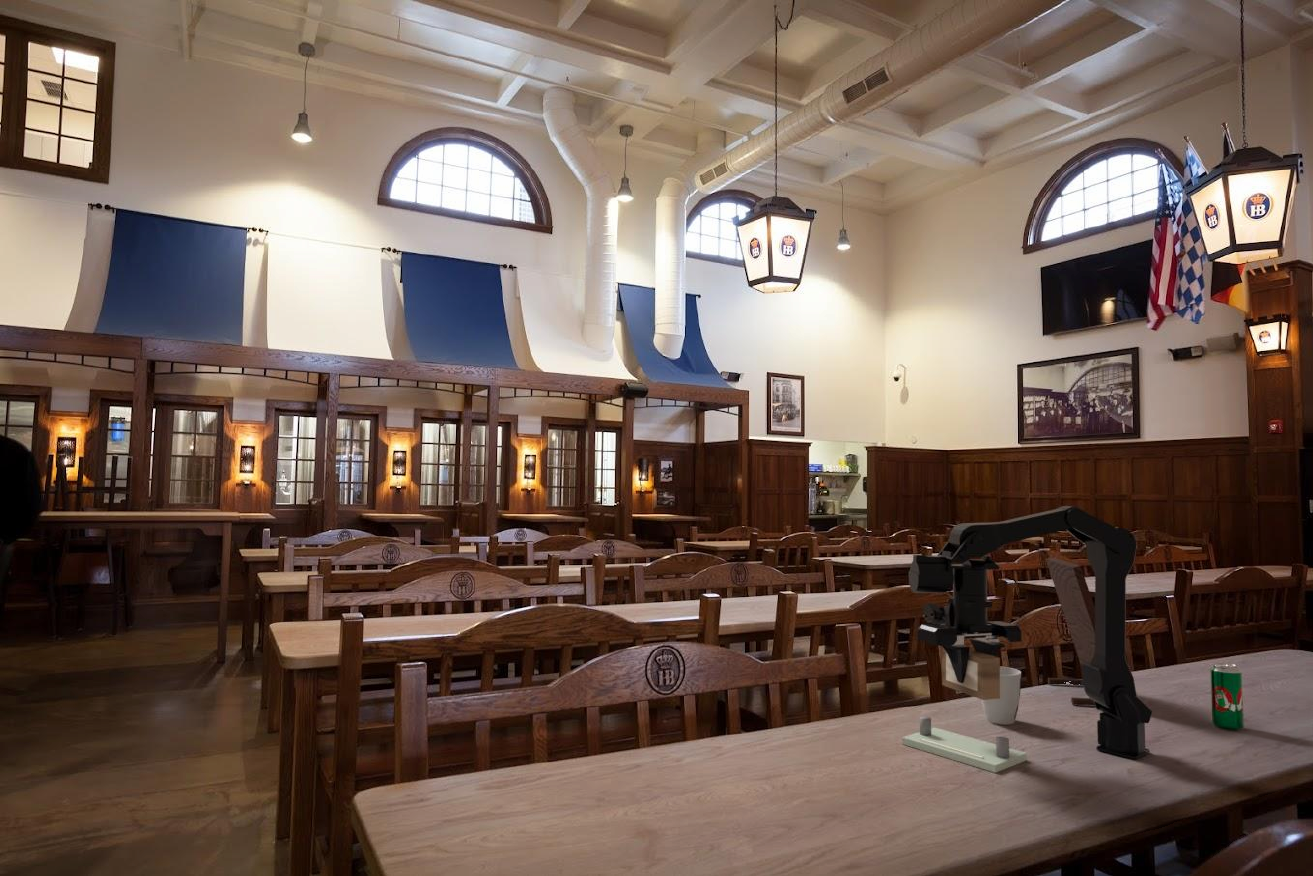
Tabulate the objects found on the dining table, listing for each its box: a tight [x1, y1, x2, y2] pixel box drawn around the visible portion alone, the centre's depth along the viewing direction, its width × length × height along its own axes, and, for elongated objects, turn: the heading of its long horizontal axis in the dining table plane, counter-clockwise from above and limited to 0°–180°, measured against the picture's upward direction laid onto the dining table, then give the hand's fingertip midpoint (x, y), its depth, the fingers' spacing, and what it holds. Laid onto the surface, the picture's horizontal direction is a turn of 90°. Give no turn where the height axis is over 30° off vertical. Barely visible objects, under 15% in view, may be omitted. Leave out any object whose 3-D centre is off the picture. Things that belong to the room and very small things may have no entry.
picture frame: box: [1045, 556, 1095, 706], centre depth 179 cm, size 21×11×30 cm, turn 168°
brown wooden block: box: [941, 646, 1001, 700], centre depth 141 cm, size 10×4×7 cm, turn 19°
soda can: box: [1209, 662, 1245, 732], centre depth 155 cm, size 5×5×12 cm
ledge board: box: [901, 715, 1028, 773], centre depth 140 cm, size 18×10×4 cm, turn 37°
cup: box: [980, 666, 1022, 726], centre depth 159 cm, size 8×8×10 cm
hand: (969, 682), depth 141 cm, fingers closed on brown wooden block, 4 cm apart
